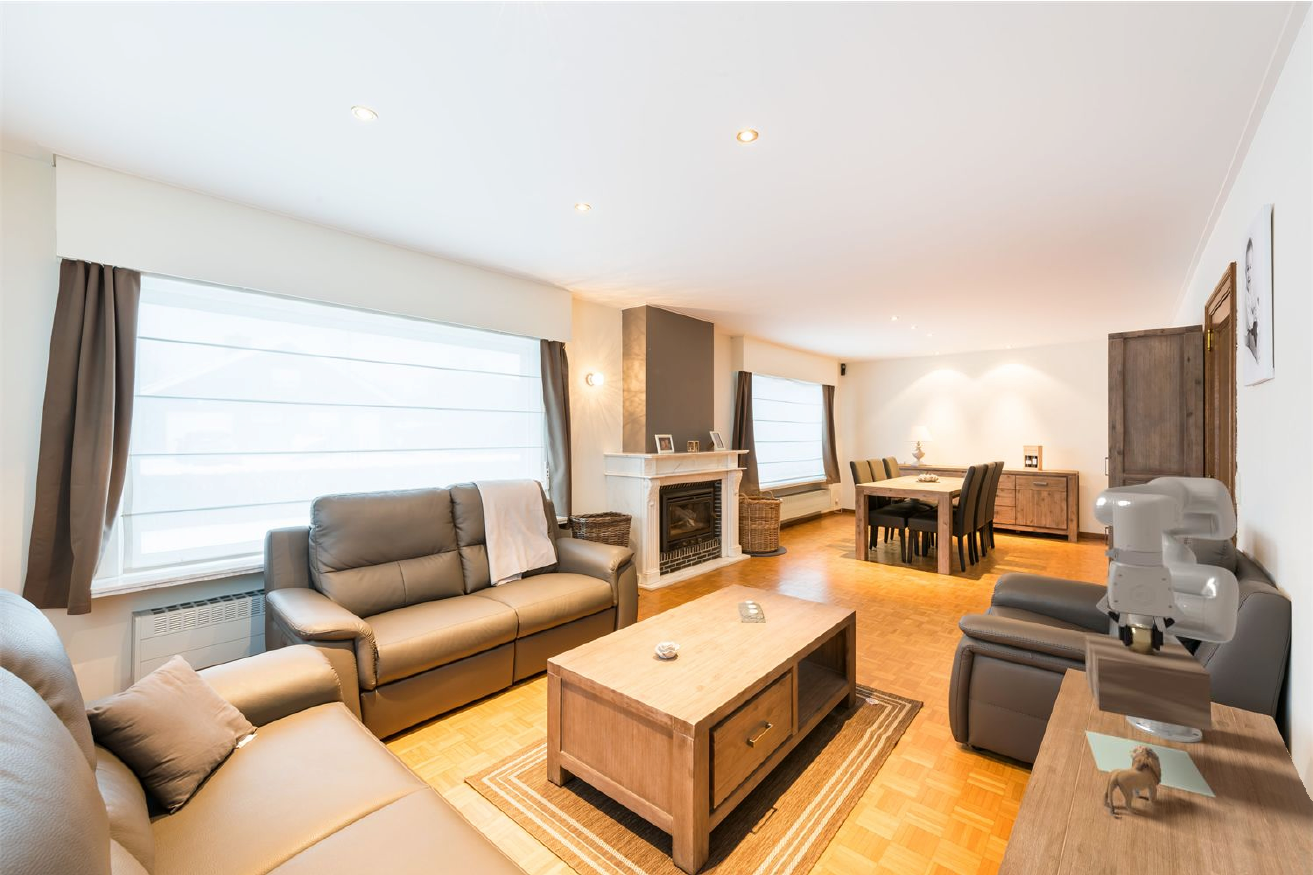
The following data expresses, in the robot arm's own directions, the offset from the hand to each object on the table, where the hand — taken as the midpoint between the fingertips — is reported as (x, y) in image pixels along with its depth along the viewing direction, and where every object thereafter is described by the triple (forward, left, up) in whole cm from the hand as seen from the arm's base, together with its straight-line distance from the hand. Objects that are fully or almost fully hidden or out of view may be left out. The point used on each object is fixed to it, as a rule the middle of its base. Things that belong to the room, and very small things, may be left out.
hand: (1140, 645), depth 110 cm
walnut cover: (0, 0, -12) cm, 12 cm away
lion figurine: (+17, -5, -24) cm, 30 cm away
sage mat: (0, 0, -24) cm, 24 cm away
